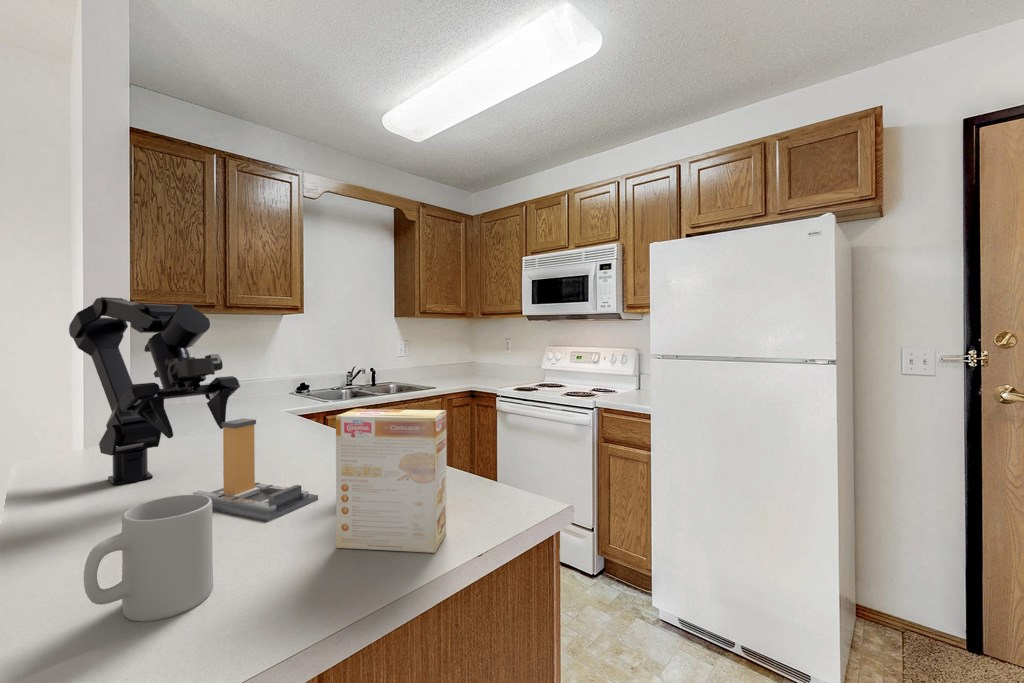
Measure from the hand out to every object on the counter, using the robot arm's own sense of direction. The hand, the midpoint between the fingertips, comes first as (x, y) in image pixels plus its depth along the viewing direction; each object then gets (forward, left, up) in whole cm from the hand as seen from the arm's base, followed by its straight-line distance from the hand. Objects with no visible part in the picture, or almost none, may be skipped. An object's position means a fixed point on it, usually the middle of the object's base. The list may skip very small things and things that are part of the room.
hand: (198, 432), depth 87 cm
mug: (+36, -14, -13) cm, 41 cm away
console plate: (+10, +6, -12) cm, 17 cm away
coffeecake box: (+42, +14, -13) cm, 46 cm away
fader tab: (+6, +5, -12) cm, 15 cm away
